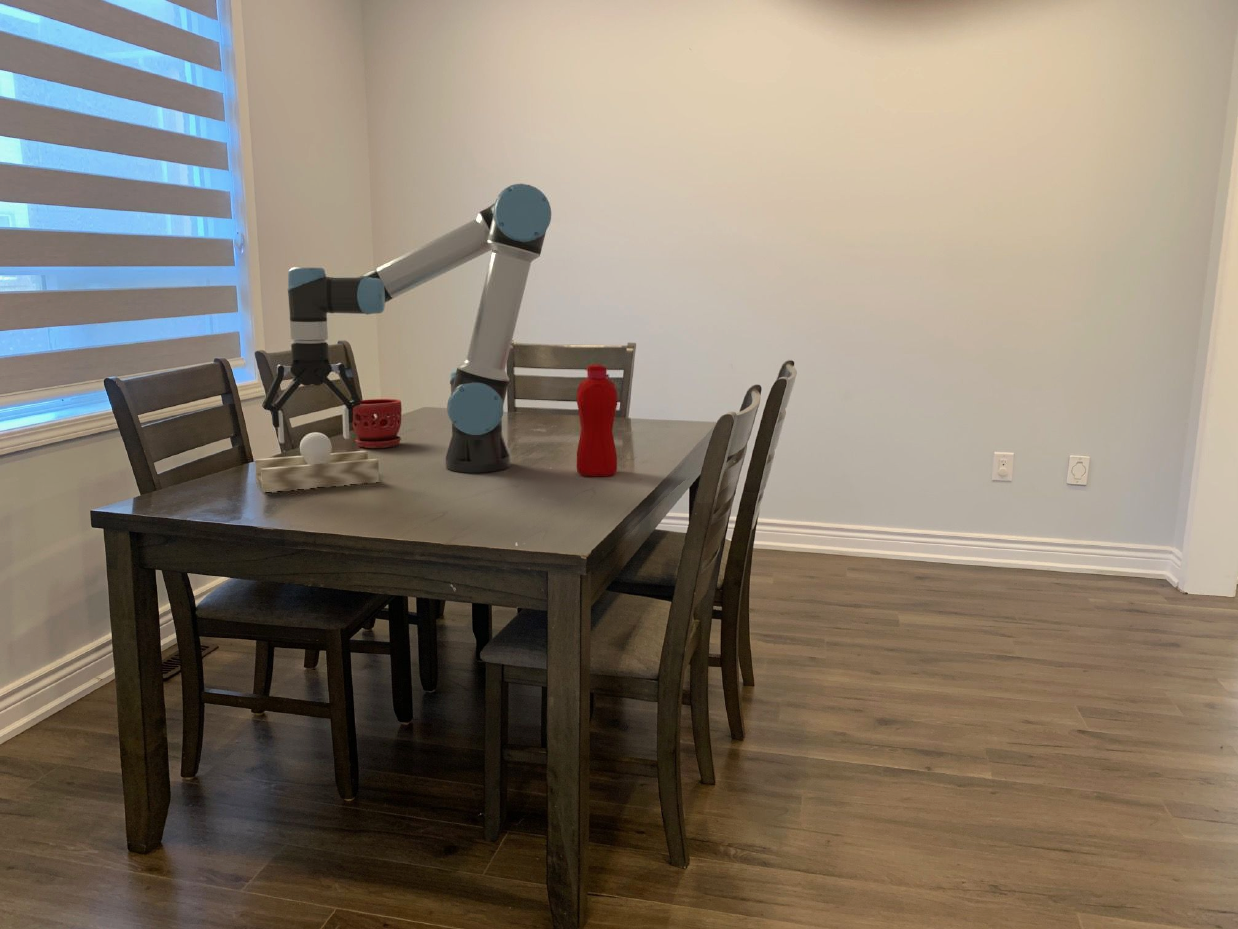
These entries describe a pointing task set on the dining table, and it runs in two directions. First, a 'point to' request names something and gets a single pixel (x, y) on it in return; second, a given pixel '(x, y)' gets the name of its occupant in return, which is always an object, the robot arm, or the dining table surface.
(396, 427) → the plant pot
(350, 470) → the beige chevron holder
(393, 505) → the dining table surface
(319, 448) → the light bulb
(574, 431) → the dining table surface
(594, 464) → the water bottle
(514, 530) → the dining table surface
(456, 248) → the robot arm
